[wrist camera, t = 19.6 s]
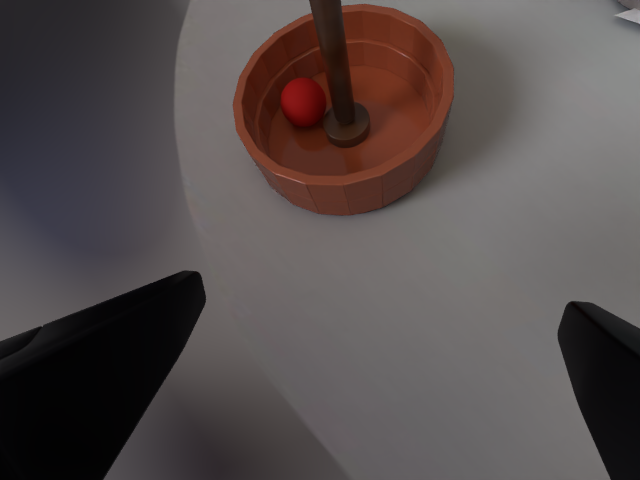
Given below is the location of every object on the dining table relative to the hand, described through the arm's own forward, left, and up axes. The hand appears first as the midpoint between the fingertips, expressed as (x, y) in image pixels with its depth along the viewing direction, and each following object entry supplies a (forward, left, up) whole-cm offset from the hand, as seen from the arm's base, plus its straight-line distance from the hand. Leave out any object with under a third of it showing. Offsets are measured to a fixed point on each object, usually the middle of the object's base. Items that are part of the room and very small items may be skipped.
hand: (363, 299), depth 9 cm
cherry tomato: (+8, +14, -10) cm, 19 cm away
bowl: (+9, +11, -13) cm, 19 cm away
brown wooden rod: (+9, +11, -12) cm, 18 cm away
